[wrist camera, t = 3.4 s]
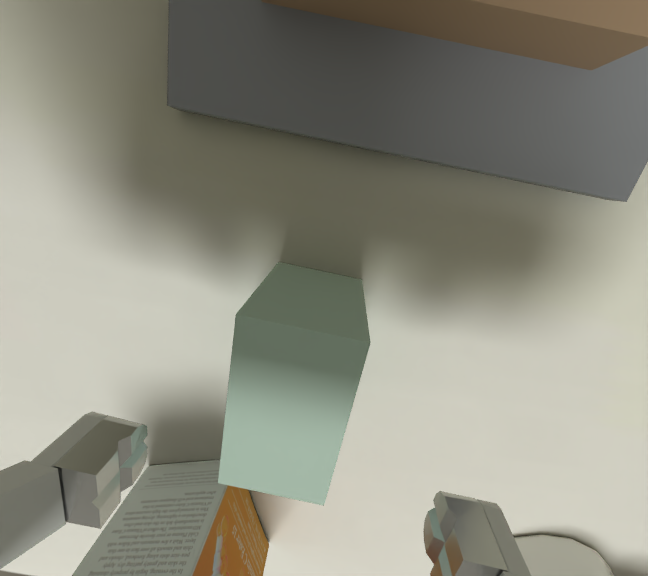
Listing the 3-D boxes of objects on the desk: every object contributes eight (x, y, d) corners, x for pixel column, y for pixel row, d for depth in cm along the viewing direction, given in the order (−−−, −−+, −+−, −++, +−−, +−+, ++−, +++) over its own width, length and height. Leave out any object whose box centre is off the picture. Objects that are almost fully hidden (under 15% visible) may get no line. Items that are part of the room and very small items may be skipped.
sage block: (260, 381, 17) (217, 482, 11) (279, 261, 15) (235, 314, 9) (331, 397, 17) (323, 505, 11) (361, 279, 15) (370, 342, 9)
